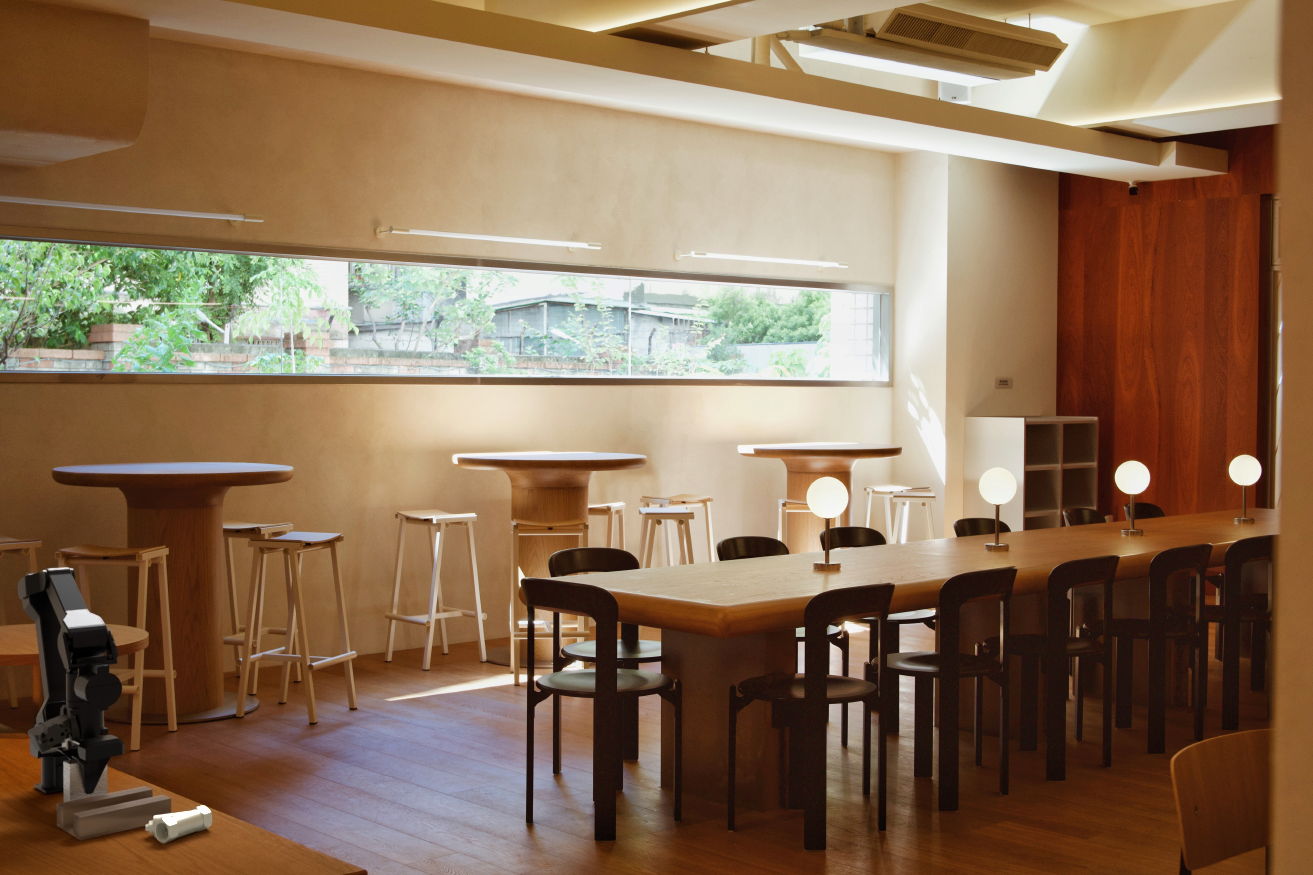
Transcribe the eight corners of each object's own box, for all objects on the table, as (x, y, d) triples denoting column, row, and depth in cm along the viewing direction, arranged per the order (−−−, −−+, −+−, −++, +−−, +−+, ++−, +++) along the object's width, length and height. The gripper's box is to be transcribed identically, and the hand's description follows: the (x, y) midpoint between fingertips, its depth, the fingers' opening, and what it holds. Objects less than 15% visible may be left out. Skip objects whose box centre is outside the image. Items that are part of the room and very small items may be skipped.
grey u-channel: (56, 825, 192) (56, 803, 192) (145, 806, 202) (145, 785, 202) (80, 840, 185) (80, 817, 185) (171, 819, 195) (171, 798, 195)
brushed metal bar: (63, 808, 201) (63, 760, 202) (100, 801, 206) (100, 754, 206) (70, 812, 199) (69, 764, 199) (107, 804, 204) (107, 757, 204)
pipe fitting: (140, 841, 186) (170, 845, 183) (139, 816, 186) (168, 819, 183) (183, 827, 193) (212, 830, 190) (182, 802, 193) (211, 805, 190)
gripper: (14, 697, 204) (15, 790, 204) (53, 714, 190) (54, 813, 190) (83, 688, 211) (84, 777, 211) (125, 703, 198) (126, 798, 198)
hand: (85, 791), depth 203 cm, fingers open, 3 cm apart
